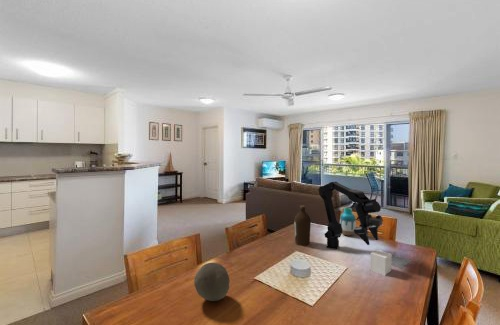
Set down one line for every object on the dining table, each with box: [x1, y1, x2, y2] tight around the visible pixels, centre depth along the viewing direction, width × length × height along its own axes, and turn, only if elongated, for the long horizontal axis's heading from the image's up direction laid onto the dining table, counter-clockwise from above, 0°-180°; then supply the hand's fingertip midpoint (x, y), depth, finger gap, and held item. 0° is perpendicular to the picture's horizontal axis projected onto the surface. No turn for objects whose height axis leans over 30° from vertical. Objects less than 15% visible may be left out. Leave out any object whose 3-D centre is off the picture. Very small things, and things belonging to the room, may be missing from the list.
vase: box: [339, 207, 357, 236], centre depth 179 cm, size 11×11×19 cm
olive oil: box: [293, 205, 312, 247], centre depth 164 cm, size 11×11×25 cm
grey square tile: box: [391, 254, 412, 269], centre depth 138 cm, size 14×14×1 cm
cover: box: [369, 249, 393, 277], centre depth 126 cm, size 7×7×9 cm
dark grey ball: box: [193, 262, 231, 302], centre depth 103 cm, size 14×14×15 cm
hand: (372, 242), depth 134 cm, fingers open, 9 cm apart
